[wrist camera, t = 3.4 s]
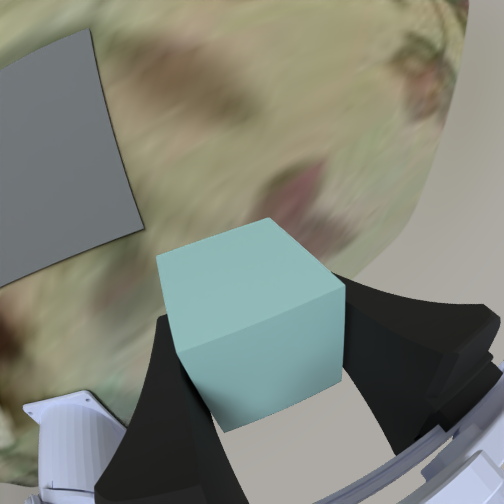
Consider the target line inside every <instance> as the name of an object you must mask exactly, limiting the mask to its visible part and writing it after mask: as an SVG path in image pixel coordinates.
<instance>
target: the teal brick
mask: <svg viewBox="0 0 504 504" xmlns="http://www.w3.org/2000/svg"><path fill="white" fill-rule="evenodd" d="M156 259H157V265H158V270H159V276H160V281H161V286H162V291H163V296H164V301H165V306H166V310H167V315H168V319H169V324H170V328H171V333H172V337H173V341H174V345H175V349H176V353H177V355H178V357H179V359H180V361H181V362H182V364H183V366H184V368H185V369H186V371H187V373H188V375H189V377H190V378H191V380H192V382H193V383H194V385H195V387H196V389H197V390H198V392H199V394H200V395H201V397H202V399H203V400H204V402H205V404H206V405H207V407H208V408H209V410H210V412H211V413H212V415H213V416H214V418H215V420H216V421H217V423H218V424H219V426H220V427H221V429H222V430H223V432H224V433H225V432H228V431H231V430H233V429H236V428H239V427H242V426H244V425H247V424H249V423H252V422H254V421H257V420H259V419H262V418H264V417H266V416H269V415H272V414H274V413H276V412H279V411H281V410H283V409H285V408H288V407H290V406H292V405H294V404H296V403H299V402H301V401H303V400H305V399H307V398H309V397H311V396H313V395H315V394H317V393H319V392H321V391H323V390H325V389H327V388H329V387H331V386H333V385H335V384H337V383H339V382H340V381H341V379H342V364H343V348H344V325H345V285H344V284H343V283H342V282H341V281H340V280H339V279H338V278H337V277H336V276H335V275H334V274H332V273H331V272H330V271H329V270H328V269H327V268H326V267H325V266H324V265H322V264H321V263H320V262H319V261H318V260H317V259H316V258H315V257H314V256H312V255H311V254H310V253H309V252H308V251H307V250H306V249H305V248H303V247H302V246H301V245H300V244H299V243H298V242H297V241H295V240H294V239H293V238H292V237H291V236H290V235H289V234H287V233H286V232H285V231H284V230H283V229H282V228H281V227H279V226H278V225H277V224H276V223H275V222H274V221H273V220H271V219H270V218H269V217H268V218H265V219H262V220H259V221H256V222H253V223H250V224H247V225H244V226H241V227H238V228H235V229H232V230H229V231H226V232H224V233H221V234H218V235H215V236H212V237H209V238H206V239H203V240H200V241H197V242H194V243H192V244H189V245H186V246H183V247H180V248H177V249H174V250H172V251H169V252H166V253H163V254H160V255H157V256H156Z"/></svg>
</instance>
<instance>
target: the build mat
mask: <svg viewBox="0 0 504 504" xmlns="http://www.w3.org/2000/svg"><path fill="white" fill-rule="evenodd" d="M141 229H144V226H143V223H142V221H141V218H140V215H139V212H138V209H137V207H136V204H135V201H134V198H133V195H132V192H131V189H130V186H129V183H128V180H127V177H126V174H125V170H124V167H123V164H122V161H121V158H120V154H119V151H118V147H117V144H116V141H115V137H114V134H113V130H112V126H111V123H110V119H109V115H108V112H107V108H106V104H105V100H104V96H103V92H102V87H101V83H100V79H99V74H98V70H97V65H96V61H95V56H94V51H93V46H92V40H91V35H90V29H89V28H88V29H85V30H82V31H80V32H77V33H74V34H72V35H70V36H67V37H65V38H62V39H60V40H58V41H56V42H53V43H51V44H49V45H47V46H45V47H42V48H40V49H38V50H36V51H34V52H32V53H30V54H28V55H26V56H25V57H23V58H21V59H19V60H17V61H15V62H14V63H12V64H10V65H8V66H7V67H5V68H3V69H1V70H0V287H1V286H3V285H5V284H7V283H10V282H12V281H14V280H16V279H19V278H21V277H23V276H25V275H28V274H30V273H32V272H35V271H37V270H39V269H42V268H44V267H46V266H49V265H51V264H53V263H56V262H58V261H61V260H63V259H65V258H68V257H70V256H73V255H75V254H78V253H80V252H83V251H85V250H88V249H90V248H93V247H96V246H98V245H101V244H103V243H106V242H109V241H111V240H114V239H116V238H119V237H122V236H124V235H127V234H130V233H133V232H135V231H138V230H141Z"/></svg>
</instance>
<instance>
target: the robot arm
mask: <svg viewBox="0 0 504 504" xmlns="http://www.w3.org/2000/svg"><path fill="white" fill-rule="evenodd" d="M331 273H332V272H331ZM332 274H334V275H335V276H336V277H337V278H338V279H339V280H340V281H341V282H342V283H343V284H344V285H345V325H344V348H343V364H342V367H343V368H344V369H345V371H346V372H347V373H348V375H349V376H350V378H351V379H352V381H353V382H354V384H355V385H356V387H357V388H358V390H359V391H360V393H361V395H362V396H363V398H364V399H365V401H366V402H367V404H368V406H369V407H370V409H371V411H372V413H373V414H374V416H375V418H376V420H377V421H378V423H379V425H380V427H381V428H382V430H383V432H384V434H385V436H386V438H387V440H388V442H389V444H390V445H391V448H392V450H393V452H394V454H395V455H396V457H394V458H393V459H391V460H390V461H388V462H387V463H385V464H384V465H382V466H381V467H379V468H377V469H376V470H374V471H373V472H371V473H369V474H368V475H366V476H364V477H363V478H361V479H359V480H357V481H356V482H354V483H352V484H351V485H348V486H347V487H345V488H343V489H341V490H339V491H338V492H335V493H333V494H331V495H329V496H327V497H326V498H324V499H321V500H319V501H317V502H315V503H313V504H358V503H359V502H361V501H363V500H364V499H366V498H368V497H369V496H371V495H373V494H375V493H376V492H378V491H379V490H381V489H383V488H384V487H386V486H387V485H389V484H390V483H392V482H393V481H395V480H396V479H398V478H399V477H401V476H402V475H404V474H405V473H406V472H408V471H409V470H411V469H412V468H413V467H415V466H416V465H417V464H419V463H420V462H421V461H423V460H424V459H425V458H427V457H428V456H429V455H430V454H432V453H433V452H434V451H435V450H436V449H438V448H439V447H440V446H441V445H442V444H444V443H445V442H446V441H447V440H448V439H449V438H451V437H452V436H453V441H452V442H450V443H449V444H448V445H447V446H446V447H445V448H444V449H443V450H442V451H441V452H440V453H438V455H437V456H436V457H435V458H434V459H433V460H432V461H431V462H430V463H429V464H428V465H427V466H426V467H425V468H424V469H422V470H421V474H422V475H423V477H424V478H425V479H426V483H425V484H423V485H422V486H421V487H420V488H418V489H417V490H416V491H414V492H413V493H412V494H410V495H408V496H407V497H406V498H404V499H403V500H401V501H400V502H398V503H397V504H504V470H503V469H502V468H501V467H500V466H501V465H502V463H503V462H504V360H503V362H502V363H501V364H500V365H499V366H498V367H497V366H496V365H495V364H493V363H492V362H491V360H492V359H493V355H492V354H491V353H489V351H488V350H489V348H490V346H491V344H492V342H493V340H494V338H495V336H496V334H497V331H498V329H499V327H500V323H501V322H500V317H499V316H498V315H496V314H495V313H494V312H493V311H492V310H490V309H489V308H488V307H487V306H485V305H484V304H448V303H447V304H446V303H437V302H429V301H423V300H416V299H411V298H406V297H402V296H398V295H394V294H390V293H386V292H383V291H380V290H377V289H373V288H371V287H368V286H365V285H362V284H360V283H357V282H354V281H352V280H349V279H347V278H344V277H342V276H340V275H337V274H335V273H332ZM23 410H24V411H25V412H26V413H27V414H28V415H29V416H30V417H32V418H33V419H34V420H35V421H36V422H37V423H38V424H40V433H39V494H38V496H36V495H33V494H31V495H30V497H28V498H27V499H25V504H249V502H248V500H247V498H246V496H245V494H244V492H243V490H242V488H241V486H240V484H239V482H238V480H237V478H236V476H235V474H234V472H233V469H232V467H231V465H230V463H229V460H228V459H227V456H226V454H225V451H224V449H223V447H222V444H221V442H220V439H219V437H218V434H217V432H216V429H215V426H214V423H213V420H212V416H211V412H210V410H209V408H208V407H207V405H206V404H205V402H204V400H203V399H202V397H201V395H200V394H199V392H198V390H197V389H196V387H195V385H194V383H193V382H192V380H191V378H190V377H189V375H188V373H187V371H186V369H185V368H184V366H183V364H182V362H181V361H180V359H179V357H178V355H177V353H176V349H175V345H174V341H173V337H172V333H171V328H170V324H169V319H168V315H167V314H165V315H163V316H160V317H158V319H157V324H156V332H155V338H154V344H153V349H152V353H151V358H150V363H149V367H148V370H147V374H146V378H145V382H144V385H143V388H142V392H141V395H140V398H139V401H138V403H137V406H136V409H135V411H134V414H133V416H132V419H131V421H130V423H129V426H128V428H127V429H126V428H125V427H124V426H123V425H122V424H121V423H120V422H118V421H117V420H116V419H115V418H114V417H113V416H112V415H111V414H110V413H109V412H108V411H107V410H106V409H105V408H104V407H103V406H102V405H101V404H100V403H99V402H98V401H97V399H96V398H95V397H94V396H93V395H92V394H91V393H90V392H89V391H86V390H83V391H79V392H75V393H71V394H67V395H64V396H59V397H55V398H51V399H47V400H43V401H38V402H34V403H29V404H25V405H23Z"/></svg>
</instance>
